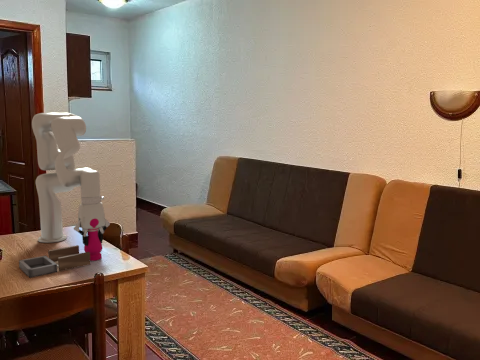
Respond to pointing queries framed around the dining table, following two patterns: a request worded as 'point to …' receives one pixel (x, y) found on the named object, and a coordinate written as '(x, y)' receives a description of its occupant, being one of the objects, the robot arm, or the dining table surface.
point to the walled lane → (69, 257)
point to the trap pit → (37, 266)
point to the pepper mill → (93, 241)
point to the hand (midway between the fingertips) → (93, 243)
